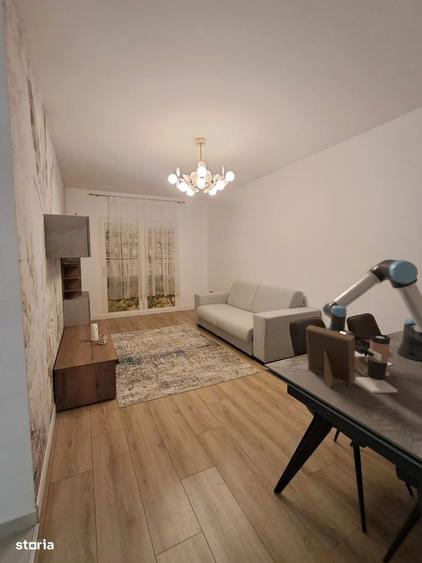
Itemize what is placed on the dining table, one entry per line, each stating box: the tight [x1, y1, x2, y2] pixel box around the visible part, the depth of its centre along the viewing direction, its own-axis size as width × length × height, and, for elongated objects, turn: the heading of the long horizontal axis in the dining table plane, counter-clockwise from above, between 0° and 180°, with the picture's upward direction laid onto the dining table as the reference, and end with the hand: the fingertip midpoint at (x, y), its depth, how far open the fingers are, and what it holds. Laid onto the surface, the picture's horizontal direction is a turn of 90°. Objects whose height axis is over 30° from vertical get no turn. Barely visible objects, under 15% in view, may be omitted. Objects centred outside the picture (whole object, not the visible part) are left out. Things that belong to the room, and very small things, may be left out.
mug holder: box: [355, 355, 391, 377], centre depth 137 cm, size 13×13×5 cm
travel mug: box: [367, 333, 391, 381], centre depth 120 cm, size 8×8×20 cm
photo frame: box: [305, 324, 356, 389], centre depth 126 cm, size 15×22×25 cm
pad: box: [355, 376, 398, 394], centre depth 122 cm, size 12×12×1 cm
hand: (388, 357), depth 115 cm, fingers closed on travel mug, 7 cm apart
